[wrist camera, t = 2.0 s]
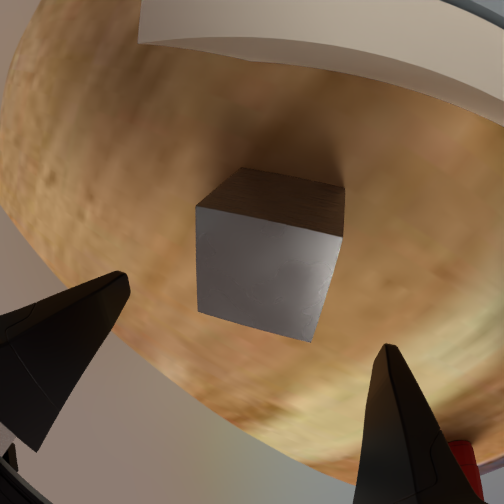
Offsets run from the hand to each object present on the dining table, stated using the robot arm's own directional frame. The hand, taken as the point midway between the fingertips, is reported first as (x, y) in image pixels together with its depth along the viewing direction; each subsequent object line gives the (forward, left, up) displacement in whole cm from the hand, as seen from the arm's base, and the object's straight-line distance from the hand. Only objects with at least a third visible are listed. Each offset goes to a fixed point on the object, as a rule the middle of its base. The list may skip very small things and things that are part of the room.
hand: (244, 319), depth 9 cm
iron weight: (0, 0, -7) cm, 7 cm away
